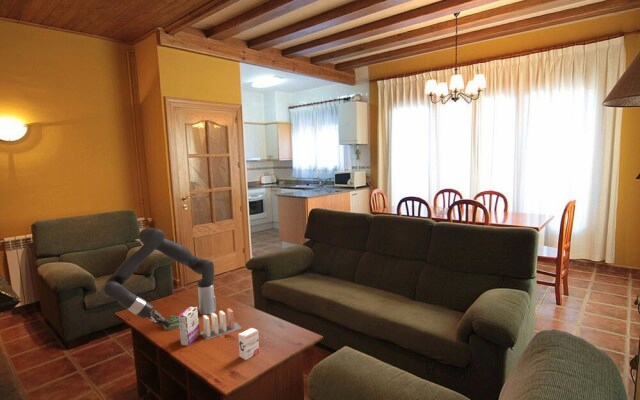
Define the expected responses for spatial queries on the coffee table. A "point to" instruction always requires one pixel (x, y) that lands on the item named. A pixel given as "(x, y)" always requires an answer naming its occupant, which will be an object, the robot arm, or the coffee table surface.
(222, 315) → the domino
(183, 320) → the candy bar box
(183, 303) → the coffee table surface
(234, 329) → the mat
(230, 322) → the domino
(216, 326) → the domino
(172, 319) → the decorative artifact
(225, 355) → the coffee table surface
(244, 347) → the ink box
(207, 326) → the domino
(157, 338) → the coffee table surface
